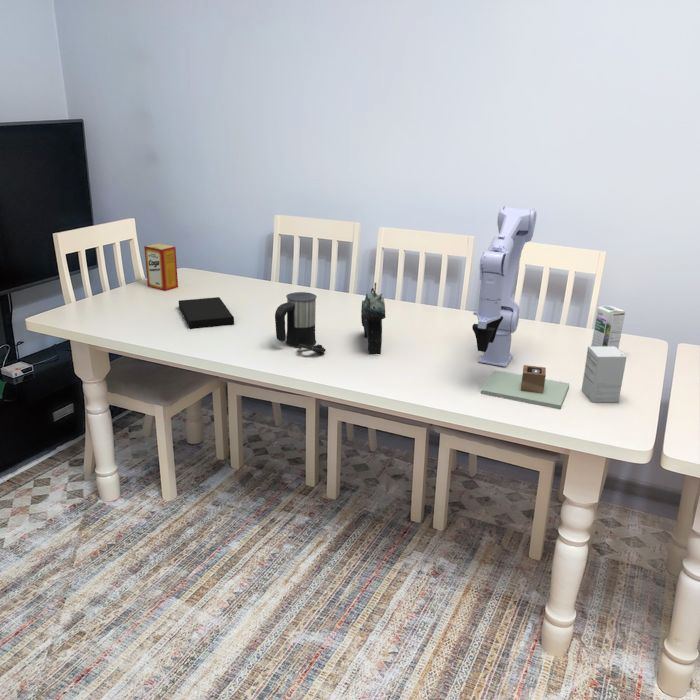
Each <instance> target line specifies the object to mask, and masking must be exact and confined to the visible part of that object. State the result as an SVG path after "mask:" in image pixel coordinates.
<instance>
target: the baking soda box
mask: <svg viewBox="0 0 700 700" xmlns="http://www.w3.org/2000/svg"><path fill="white" fill-rule="evenodd" d="M144 257H145V258H144V260H145V269H146V281H147V287H148V288H151V289H155V290H159V291H163V292H167V291H170V290H173V289H176V288H177V289H178V288H179V281H178V264H177V253H176V246H174V245H169V244H163V243H159V242H158V243H153V244H148V245H145V246H144Z"/></svg>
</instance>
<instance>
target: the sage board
mask: <svg viewBox="0 0 700 700" xmlns="http://www.w3.org/2000/svg"><path fill="white" fill-rule="evenodd" d="M521 382H522V374H519V373H514V372H510V371H508V372H507V371H502V370H497V369H494V370H493V372H492V373H491V375H490V376H489V377H488V379H487V381H486V382H485V384H484V385H483V386H482V388H481V389H480V394H482V395H486V396H487V395H488V396H491V395H492V396H491V397H496V396H497V398H501V397H502V398H503V399H506V398H507V400H511V399H512V400H513V401H517V402H523V403H527V404H533V405H537V406H542V407H543V406H544V407H547V408H553V409H559V410H561V408H562V405H563V403H564V400H565V398H566V396H567V393H568V390H569V388H570V382H569V383H567V382H562V381H557V380H552V379H547V378H545V384H544V391H543V394H542V393H534V392H526V391H521ZM512 400H511V401H512Z"/></svg>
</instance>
